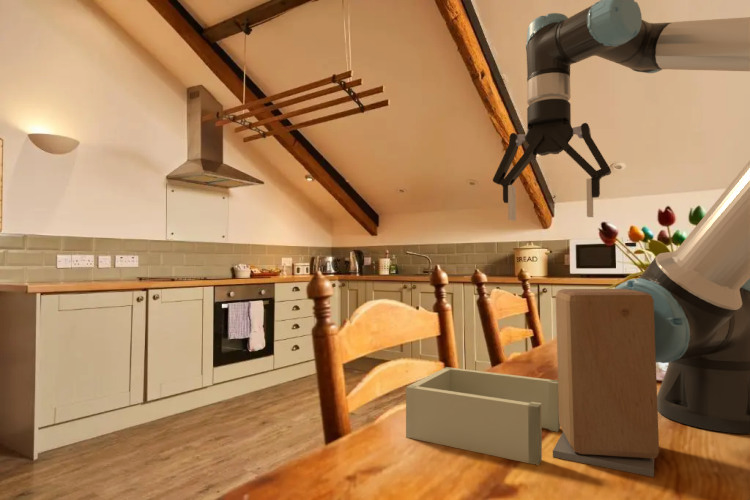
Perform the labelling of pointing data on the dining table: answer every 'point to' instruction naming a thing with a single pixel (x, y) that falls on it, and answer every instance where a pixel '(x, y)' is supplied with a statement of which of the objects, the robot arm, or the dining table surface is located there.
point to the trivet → (604, 459)
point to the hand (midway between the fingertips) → (549, 218)
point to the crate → (483, 412)
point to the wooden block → (607, 372)
